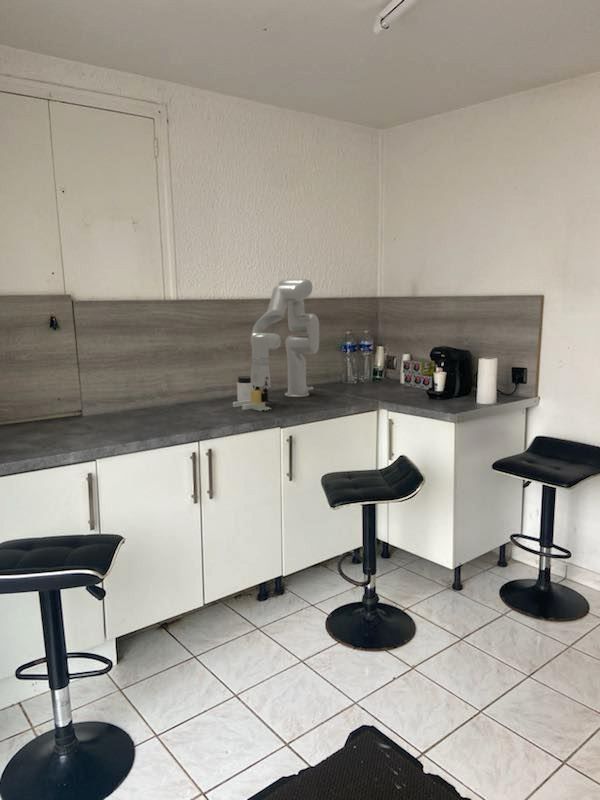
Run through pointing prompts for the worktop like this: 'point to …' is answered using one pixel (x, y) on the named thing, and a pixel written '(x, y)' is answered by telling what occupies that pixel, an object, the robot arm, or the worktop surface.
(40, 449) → the worktop surface
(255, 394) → the block
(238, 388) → the jar
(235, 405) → the channel
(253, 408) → the coaster
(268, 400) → the tray
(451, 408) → the worktop surface
